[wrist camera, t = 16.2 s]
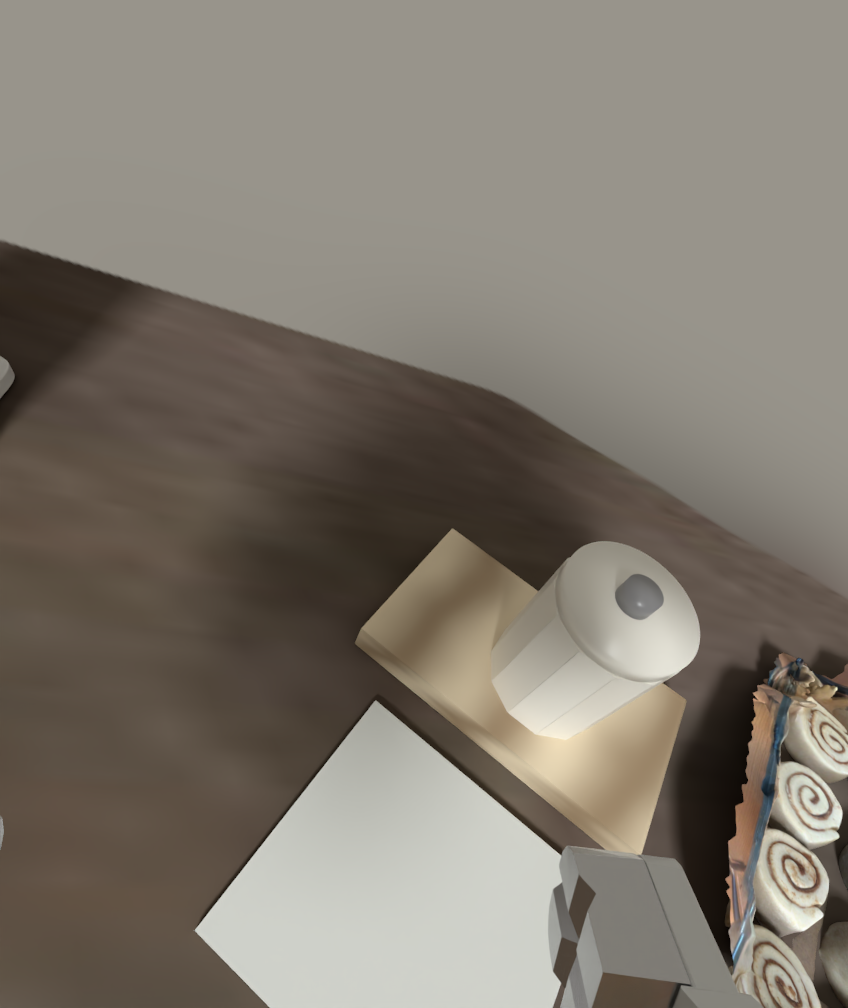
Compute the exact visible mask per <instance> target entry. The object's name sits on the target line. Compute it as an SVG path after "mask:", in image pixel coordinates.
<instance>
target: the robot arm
mask: <svg viewBox="0 0 848 1008" xmlns="http://www.w3.org/2000/svg"><path fill="white" fill-rule="evenodd" d="M14 378H15V375H14V372H13V370H12V368H11V366H10V364H9V363H8V361H7V360H6V359H4V358H3V357H1V356H0V398H1V397H2V396H3V395H4V393H5V392H6V391H7V390H8V389H9V387H10V386H11V384H12V383H13V381H14ZM3 833H4V829H3V821H2V817H1V816H0V849H1V844H2V838H3ZM559 869H560V874H561V879H562V883H560V884H559V885H558V886H556V887H555V888H554V889H553V891H552V896H551V900H550V905H549V917H548V938H549V950H550V957H551V963H552V970H553V972H554V974H555V975H556V976H557V978H558V979H559V981H560V982H561V983H562V985H563V986H564V988H565V992H564V996H563V999H562V1003H561V1007H560V1008H764V1007H763V1006H762V1005H761V1004H760V1003H759V1002H758V1001H757V1000H756V999H755V998H754V997H753V996H752V995H748V994H743V993H739V992H738V989H737V987H736V985H735V983H734V981H733V978H732V976H731V974H730V972H729V970H728V967H727V965H726V963H725V961H724V959H723V956H722V954H721V952H720V950H719V947H718V945H717V943H716V941H715V939H714V936H713V934H712V932H711V930H710V928H709V925H708V923H707V921H706V919H705V917H704V914H703V912H702V910H701V908H700V905H699V903H698V901H697V899H696V897H695V894H694V892H693V890H692V888H691V886H690V883H689V881H688V879H687V877H686V875H685V872H684V870H683V868H682V866H681V865H680V864H679V863H678V862H677V861H676V860H675V859H672V858H663V857H655V856H647V855H636V854H634V853H626V852H618V851H609V850H600V849H592V848H583V847H574V846H566V848H565V849H564V850H563V852H562V856H561V859H560V863H559Z"/></svg>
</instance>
